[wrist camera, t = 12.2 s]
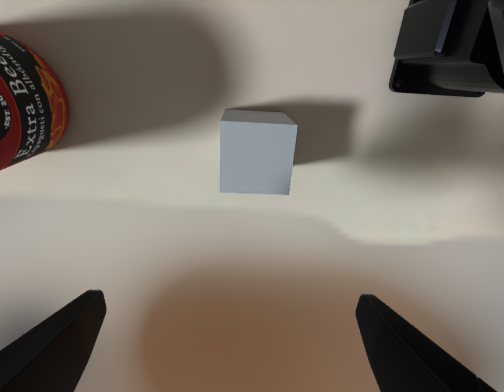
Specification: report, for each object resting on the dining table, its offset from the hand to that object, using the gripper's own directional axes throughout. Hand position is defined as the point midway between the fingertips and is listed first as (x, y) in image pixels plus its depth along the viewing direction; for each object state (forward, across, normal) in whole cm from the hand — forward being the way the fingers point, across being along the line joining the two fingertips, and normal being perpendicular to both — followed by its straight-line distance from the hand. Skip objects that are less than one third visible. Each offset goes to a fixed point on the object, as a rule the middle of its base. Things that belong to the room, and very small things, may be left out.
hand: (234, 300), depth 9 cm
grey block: (+12, -1, -3) cm, 13 cm away
